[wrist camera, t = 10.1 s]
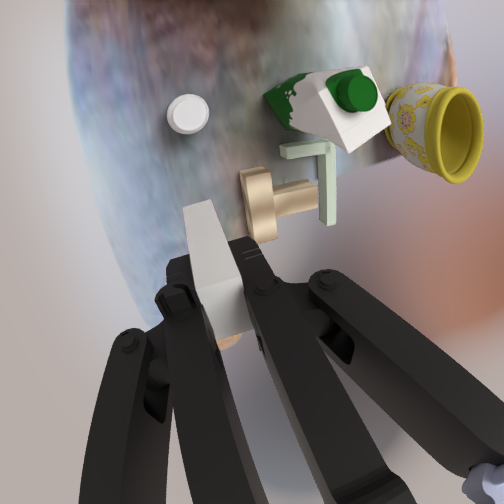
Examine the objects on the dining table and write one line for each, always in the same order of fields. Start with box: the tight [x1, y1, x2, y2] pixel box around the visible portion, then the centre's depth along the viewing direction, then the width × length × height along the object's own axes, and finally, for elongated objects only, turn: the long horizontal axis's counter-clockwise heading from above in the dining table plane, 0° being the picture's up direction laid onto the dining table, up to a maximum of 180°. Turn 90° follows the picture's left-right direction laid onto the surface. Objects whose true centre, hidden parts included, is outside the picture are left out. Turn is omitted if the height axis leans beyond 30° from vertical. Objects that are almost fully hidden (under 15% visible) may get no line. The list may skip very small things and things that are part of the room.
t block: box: [239, 166, 318, 244], centre depth 46 cm, size 12×12×4 cm
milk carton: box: [264, 66, 391, 154], centre depth 31 cm, size 9×9×20 cm
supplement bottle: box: [167, 94, 209, 134], centre depth 32 cm, size 5×5×10 cm
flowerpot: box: [384, 82, 484, 184], centre depth 39 cm, size 18×18×16 cm
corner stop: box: [279, 138, 336, 226], centre depth 47 cm, size 16×9×3 cm, turn 8°
